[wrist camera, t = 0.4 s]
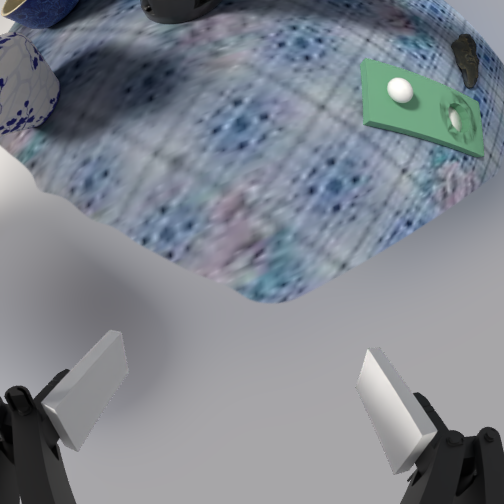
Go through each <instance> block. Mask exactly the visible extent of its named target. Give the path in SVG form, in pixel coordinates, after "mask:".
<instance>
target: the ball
mask: <svg viewBox="0 0 504 504" xmlns="http://www.w3.org/2000/svg"><path fill="white" fill-rule="evenodd" d="M387 91H388V94H389V96H390V97H391V98H392V99H393V100H394V101H396V102H398V103H406V102H408V101H410V100H411V99H412V97H413V88H412V86H411V84H410V83H409V82H408V81H407V80H405V79H403V78H393V79H392V80H390V82H389V83H388V86H387Z"/></svg>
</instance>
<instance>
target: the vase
mask: <svg viewBox="0 0 504 504" xmlns="http://www.w3.org/2000/svg"><path fill="white" fill-rule="evenodd" d="M59 96H60V82H59V80H58V79H57V77H56V76H55V75H54V73H53V72H52V70H51V68H50V67H49V65H48V64H47V62H46V61H45V59H44V58H43V56H42V55H41V53H40V52H39V51H38V49H37V48H36V47H35V45H34V44H33V43H32V41H31V40H29V39H28V38H27V37H26V36H24V35H23V34H21V33H15V32H10V33H5V34H2V35H0V136H4V135H7V134H11V133H14V132H18V131H22V130H25V129H29V128H33V127H38V126H40V125H41V124H43V123H44V122H45V121H46V120H47V119H48V118H49V117H50V115H51V114H52V112H53V111H54V109H55V107H56V105H57V102H58V99H59Z"/></svg>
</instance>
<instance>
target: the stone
mask: <svg viewBox="0 0 504 504" xmlns="http://www.w3.org/2000/svg"><path fill="white" fill-rule="evenodd" d="M451 48H452V50H453V52H454V54H455V56H456V63H457V65H458V66H459V67H460V68H461V69H462V75H463V79H464V84H465V86H466V87H467V88H473V86H474V85H475V84H476V82H477V78H478V64H479V59H478V58H477V55H476V44H475V42H474V40H473V39H472V37H471V35H469V34H461V35H459V39H458V40H456V41H454V42H453V44H452V46H451Z"/></svg>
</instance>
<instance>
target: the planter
mask: <svg viewBox="0 0 504 504" xmlns="http://www.w3.org/2000/svg"><path fill="white" fill-rule="evenodd" d="M78 1H79V0H6V2H5V4H4V6H3V8H2V11H1V15H2V16H3V17H6V18H8V19H11V20H13V21H15V22H18V23H20V24H22V25H25V26H27V27H30V28H33V29H44V28H47V27H50V26H52V25H54V24H56V23H57V22H59V21H60V20H62V19H63V18H64V17H65V16H67V15H68V14H69V13H70V12H71V11H72V10H73V8H74V7H75V6H76V4H77V3H78Z"/></svg>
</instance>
